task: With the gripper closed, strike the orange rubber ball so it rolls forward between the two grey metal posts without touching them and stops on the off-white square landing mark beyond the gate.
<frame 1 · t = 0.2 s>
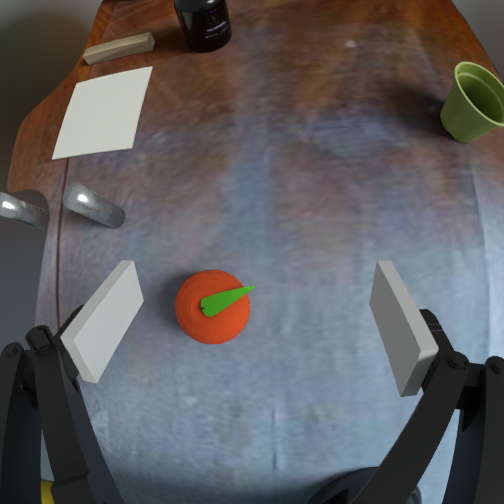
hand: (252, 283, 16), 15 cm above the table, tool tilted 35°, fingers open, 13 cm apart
lemon: (60, 487, 29), on the table
post 1: (43, 219, 35), on the table
landing mark: (100, 111, 37), on the table
clementine: (224, 303, 32), on the table
post 2: (115, 217, 34), on the table
plant pot: (456, 125, 32), on the table
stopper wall: (120, 53, 38), on the table
supplement bottle: (210, 39, 37), on the table
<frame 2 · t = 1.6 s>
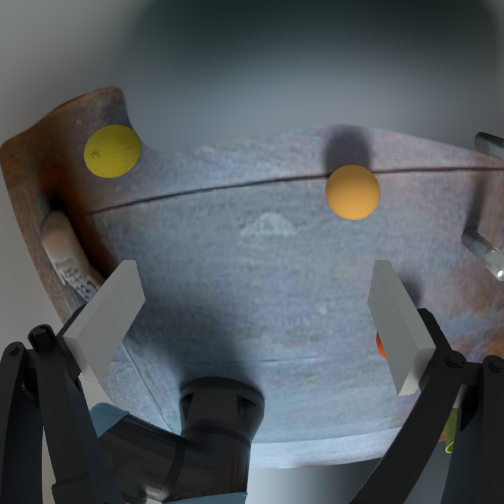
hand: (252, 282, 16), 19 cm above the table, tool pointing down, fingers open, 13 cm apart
lemon: (130, 144, 32), on the table
post 1: (481, 142, 27), on the table
post 2: (468, 237, 33), on the table
plant pot: (453, 412, 51), on the table
ball: (352, 192, 29), on the table
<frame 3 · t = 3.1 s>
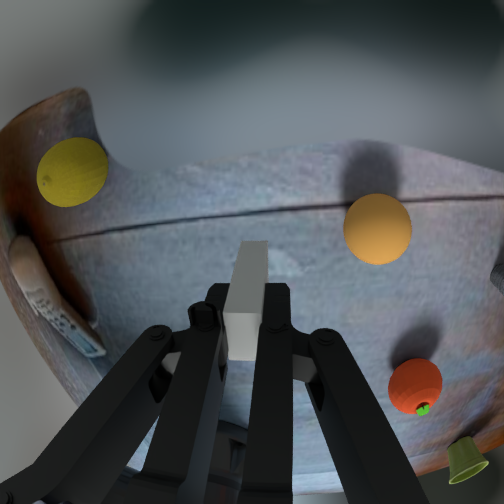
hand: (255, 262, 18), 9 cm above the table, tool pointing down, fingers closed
lemon: (98, 160, 25), on the table
clementine: (408, 367, 34), on the table
post 2: (498, 274, 27), on the table
plant pot: (459, 442, 45), on the table
ball: (377, 228, 23), on the table
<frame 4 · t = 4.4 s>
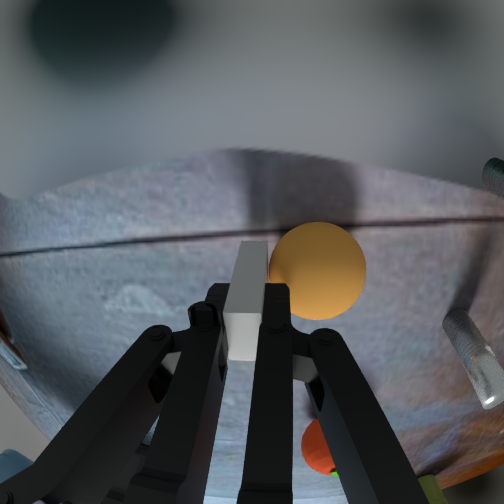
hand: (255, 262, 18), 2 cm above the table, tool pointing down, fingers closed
post 1: (494, 175, 16), on the table
clementine: (333, 417, 29), on the table
post 2: (454, 320, 22), on the table
plant pot: (420, 479, 41), on the table
ball: (317, 270, 17), on the table
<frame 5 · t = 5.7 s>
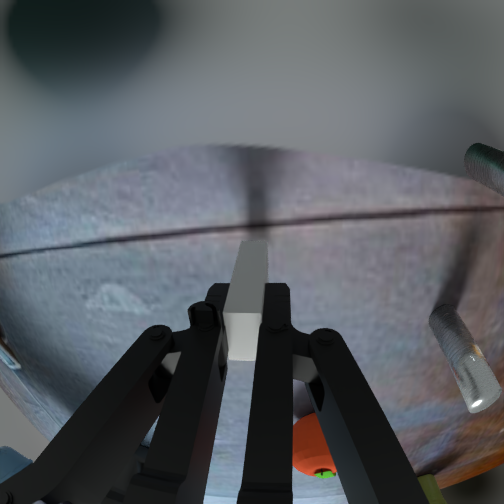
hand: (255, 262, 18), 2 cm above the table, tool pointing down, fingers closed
post 1: (478, 161, 16), on the table
clementine: (320, 417, 28), on the table
post 2: (442, 317, 21), on the table
plant pot: (419, 478, 40), on the table
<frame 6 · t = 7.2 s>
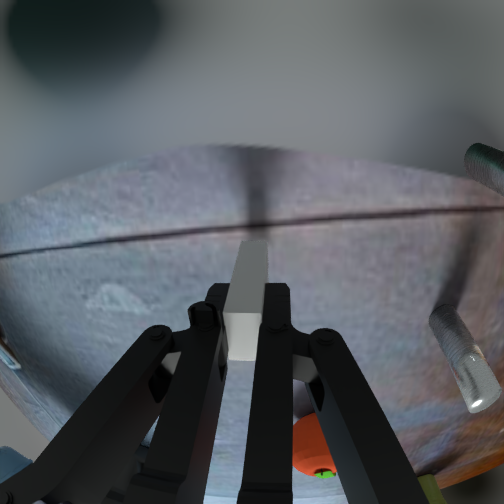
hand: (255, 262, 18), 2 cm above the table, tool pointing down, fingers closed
post 1: (478, 161, 16), on the table
clementine: (320, 417, 28), on the table
post 2: (442, 317, 21), on the table
plant pot: (419, 478, 40), on the table
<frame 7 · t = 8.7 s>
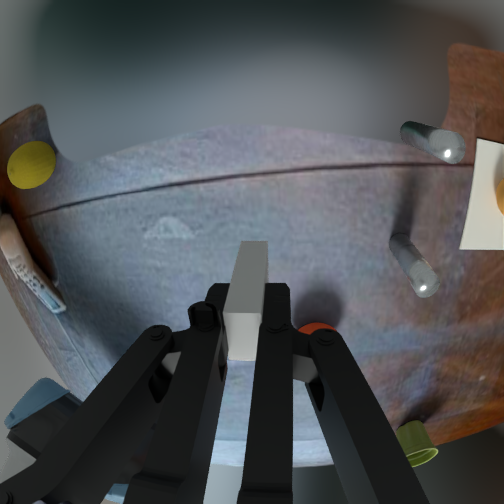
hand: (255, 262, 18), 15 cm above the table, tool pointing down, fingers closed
lemon: (52, 156, 32), on the table
post 1: (411, 133, 27), on the table
clementine: (316, 332, 40), on the table
post 2: (398, 243, 33), on the table
plant pot: (409, 426, 52), on the table
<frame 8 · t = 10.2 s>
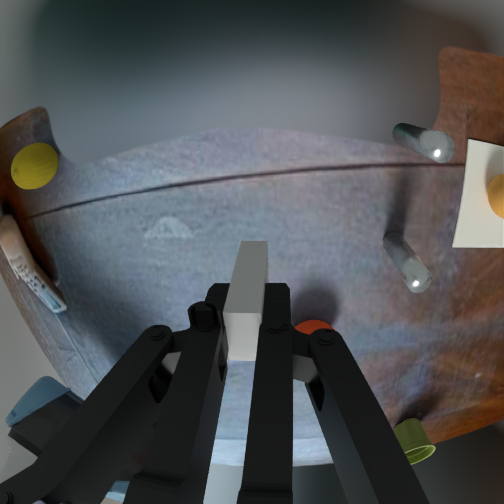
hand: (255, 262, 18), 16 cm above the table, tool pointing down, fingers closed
lemon: (55, 157, 33), on the table
post 1: (403, 134, 28), on the table
landing mark: (499, 198, 30), on the table
clementine: (312, 330, 41), on the table
post 2: (392, 241, 34), on the table
plant pot: (406, 424, 53), on the table
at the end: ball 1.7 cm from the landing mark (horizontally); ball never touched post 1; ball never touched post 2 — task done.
